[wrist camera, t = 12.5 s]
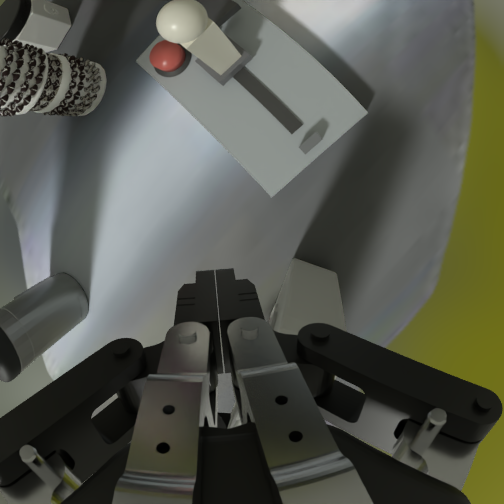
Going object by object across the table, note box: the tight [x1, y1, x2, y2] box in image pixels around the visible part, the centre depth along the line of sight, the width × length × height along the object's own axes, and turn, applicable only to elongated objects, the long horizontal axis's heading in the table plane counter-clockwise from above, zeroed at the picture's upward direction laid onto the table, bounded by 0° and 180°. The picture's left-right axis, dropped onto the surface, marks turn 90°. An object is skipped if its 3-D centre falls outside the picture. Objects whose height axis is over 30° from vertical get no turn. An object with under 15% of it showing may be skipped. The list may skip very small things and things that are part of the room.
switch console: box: [136, 0, 368, 197], centre depth 30 cm, size 24×14×4 cm, turn 44°
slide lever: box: [156, 0, 253, 86], centre depth 22 cm, size 4×4×14 cm
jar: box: [0, 0, 72, 53], centre depth 27 cm, size 9×8×12 cm
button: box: [149, 40, 185, 72], centre depth 29 cm, size 4×4×2 cm
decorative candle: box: [0, 38, 107, 116], centre depth 24 cm, size 9×9×25 cm
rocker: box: [196, 0, 241, 27], centre depth 26 cm, size 6×4×2 cm, turn 46°
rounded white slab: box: [217, 258, 347, 429], centre depth 34 cm, size 29×8×18 cm, turn 164°
